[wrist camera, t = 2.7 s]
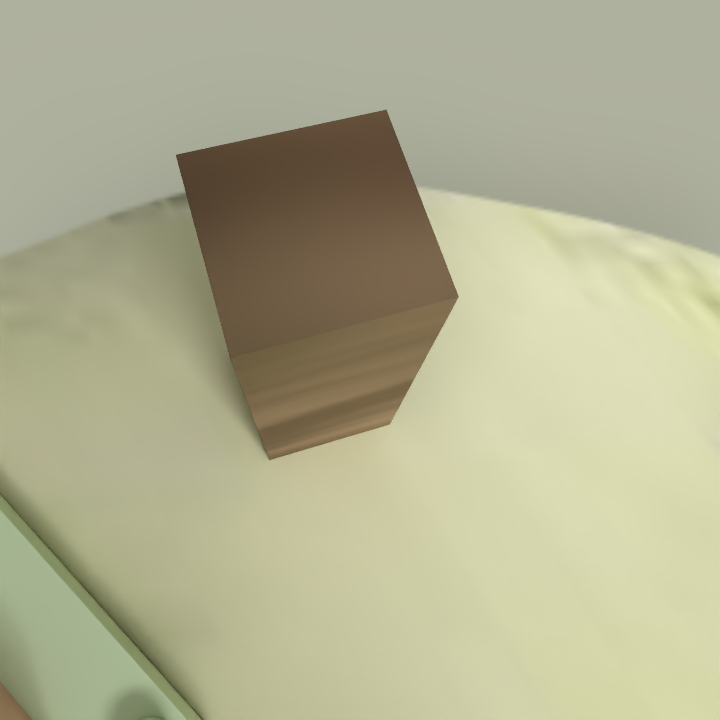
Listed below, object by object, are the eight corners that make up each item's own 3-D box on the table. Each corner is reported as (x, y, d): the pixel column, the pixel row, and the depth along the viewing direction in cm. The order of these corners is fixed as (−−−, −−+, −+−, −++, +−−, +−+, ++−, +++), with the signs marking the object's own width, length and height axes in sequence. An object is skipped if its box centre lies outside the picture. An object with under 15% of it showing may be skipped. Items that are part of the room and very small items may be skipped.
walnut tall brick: (389, 424, 23) (458, 296, 12) (269, 459, 23) (230, 357, 12) (352, 313, 24) (386, 109, 14) (238, 344, 24) (175, 155, 13)
